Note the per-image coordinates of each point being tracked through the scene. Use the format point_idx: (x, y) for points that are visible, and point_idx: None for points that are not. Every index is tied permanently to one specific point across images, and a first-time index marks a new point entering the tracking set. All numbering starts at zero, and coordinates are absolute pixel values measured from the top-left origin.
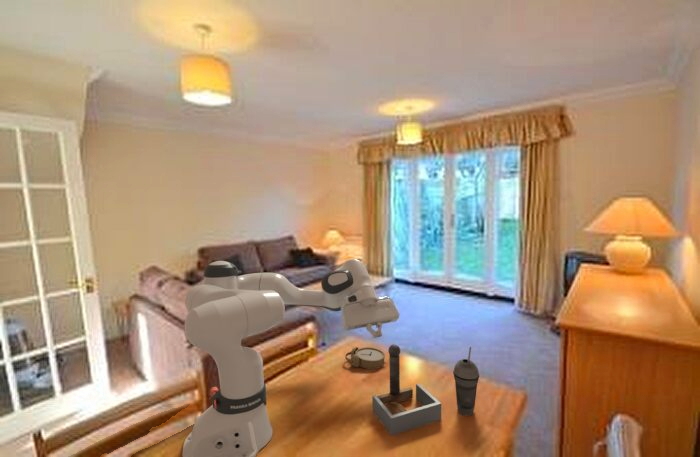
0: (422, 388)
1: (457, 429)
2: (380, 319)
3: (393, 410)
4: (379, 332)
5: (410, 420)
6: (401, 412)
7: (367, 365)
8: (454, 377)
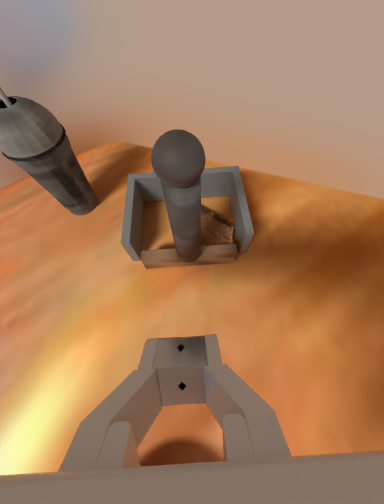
0: (127, 222)
1: None
2: (42, 488)
3: (208, 227)
4: (161, 351)
5: None
6: None
7: None
8: (63, 152)
